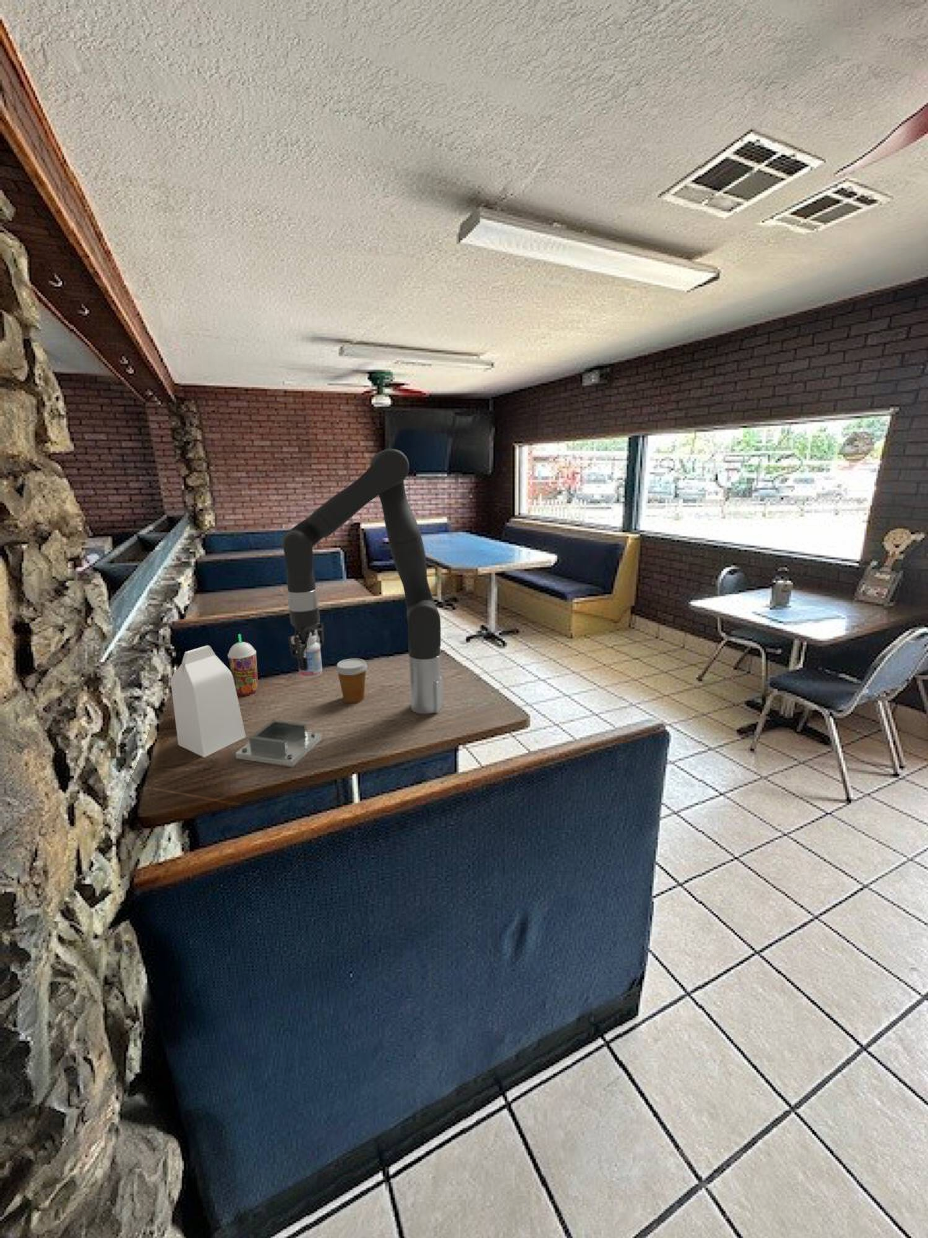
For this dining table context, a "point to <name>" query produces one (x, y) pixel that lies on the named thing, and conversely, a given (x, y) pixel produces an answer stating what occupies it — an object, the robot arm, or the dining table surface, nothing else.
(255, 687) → the smoothie
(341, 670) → the disposable coffee cup
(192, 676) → the milk
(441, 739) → the dining table surface
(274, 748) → the mounting bracket
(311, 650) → the pill bottle
